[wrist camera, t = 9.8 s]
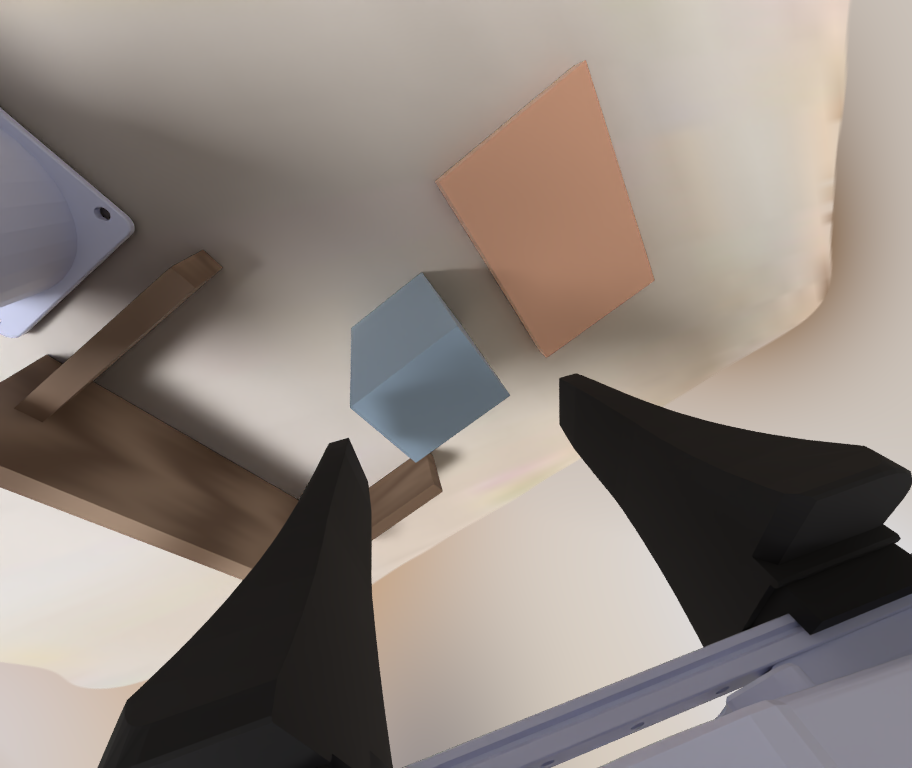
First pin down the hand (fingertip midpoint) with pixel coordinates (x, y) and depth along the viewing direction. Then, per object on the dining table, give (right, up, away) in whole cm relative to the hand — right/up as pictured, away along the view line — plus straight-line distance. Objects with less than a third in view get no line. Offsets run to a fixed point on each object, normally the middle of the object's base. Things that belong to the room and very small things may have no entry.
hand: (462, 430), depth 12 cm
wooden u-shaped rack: (-11, -1, +10) cm, 15 cm away
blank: (-3, +5, +9) cm, 10 cm away
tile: (+5, +10, +8) cm, 14 cm away
